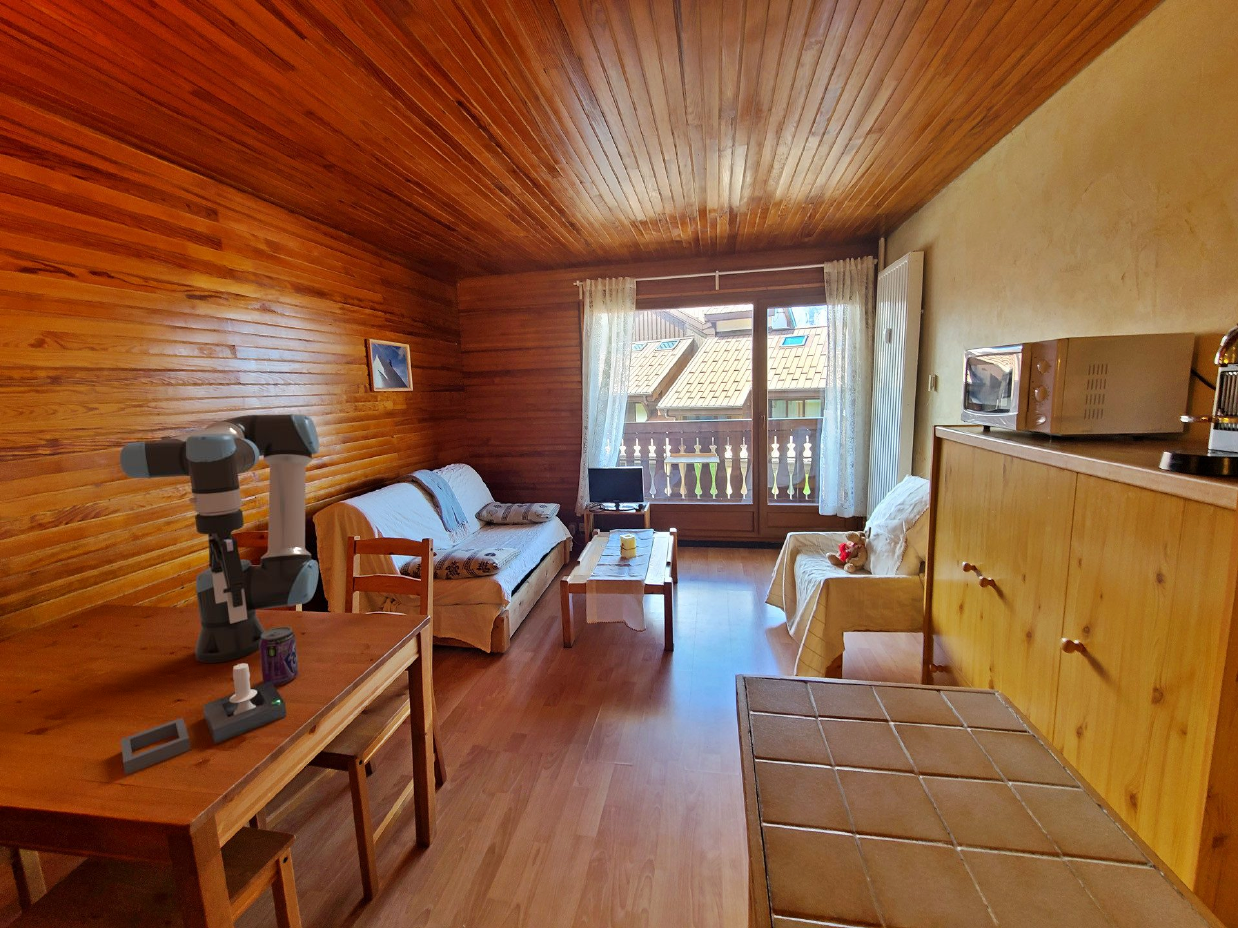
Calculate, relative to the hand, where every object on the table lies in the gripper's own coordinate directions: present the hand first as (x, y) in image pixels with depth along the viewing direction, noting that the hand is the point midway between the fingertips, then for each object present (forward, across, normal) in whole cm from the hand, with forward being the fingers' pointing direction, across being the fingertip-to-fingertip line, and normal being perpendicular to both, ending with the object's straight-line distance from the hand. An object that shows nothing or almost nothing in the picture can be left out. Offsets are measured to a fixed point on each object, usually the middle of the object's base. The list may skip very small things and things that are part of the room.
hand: (231, 610), depth 105 cm
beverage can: (+24, -9, +9) cm, 27 cm away
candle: (+23, +2, 0) cm, 23 cm away
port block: (+23, +2, 0) cm, 23 cm away
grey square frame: (+23, +2, -14) cm, 27 cm away
